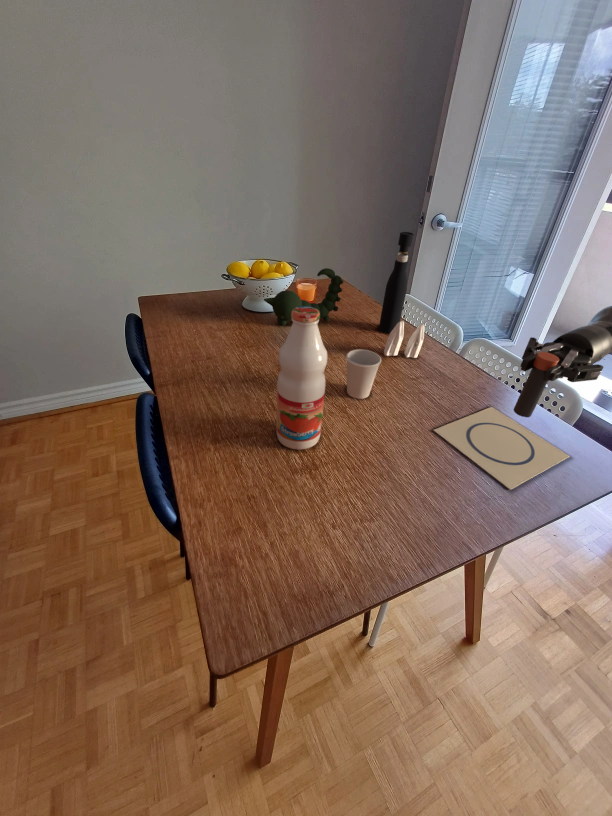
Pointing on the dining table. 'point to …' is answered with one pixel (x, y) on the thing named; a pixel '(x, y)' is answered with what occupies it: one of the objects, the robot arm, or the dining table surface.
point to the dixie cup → (361, 372)
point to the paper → (501, 446)
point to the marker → (534, 384)
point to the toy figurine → (290, 300)
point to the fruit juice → (301, 381)
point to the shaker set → (397, 337)
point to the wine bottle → (396, 287)
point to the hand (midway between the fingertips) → (535, 370)
